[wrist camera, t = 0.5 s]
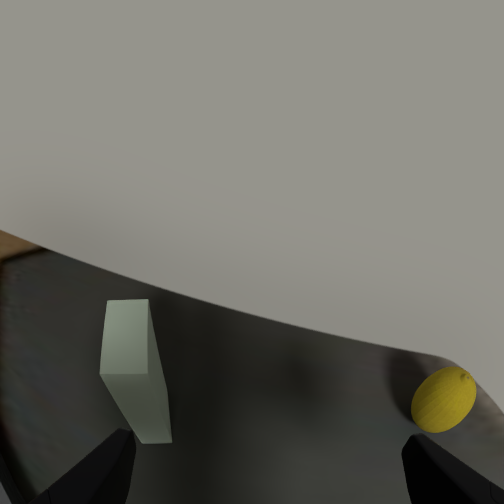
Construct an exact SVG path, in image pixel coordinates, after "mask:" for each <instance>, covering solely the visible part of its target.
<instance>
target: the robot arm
mask: <svg viewBox="0 0 504 504" xmlns="http://www.w3.org/2000/svg"><path fill="white" fill-rule="evenodd" d="M135 454H136V443H135V439H134V434H133V431H132V430H130V429H125V428H118V429H117V430H116V431H115V432H114V433H113V434H111V435H110V436H109V437H108V438H107V439H106V440H104V441H103V442H102V443H101V444H100V445H99V446H98V447H96V448H95V449H94V450H93V451H92V452H91V453H89V454H88V455H87V456H86V457H85V458H83V459H82V460H81V461H80V462H79V463H78V464H76V465H75V466H74V467H73V468H72V469H70V470H69V471H68V472H67V473H66V474H64V475H63V476H62V477H61V478H60V479H58V480H57V481H56V482H55V483H53V484H52V485H51V486H50V487H49V488H48V489H46V490H45V491H43V492H42V493H41V494H40V495H38V496H37V497H36V498H34V499H33V500H32V501H30V502H29V503H27V504H125V502H126V499H127V496H128V492H129V488H130V482H131V476H132V470H133V465H134V459H135ZM402 460H403V466H404V471H405V477H406V483H407V488H408V492H409V496H410V500H411V503H412V504H504V490H503V489H502V488H500V487H498V486H497V485H495V484H494V483H492V482H491V481H490V482H489V480H488V479H486V478H485V477H483V476H482V475H481V474H479V473H478V472H476V471H475V470H473V469H472V468H470V467H469V466H468V465H466V464H465V463H463V462H462V461H460V460H459V459H458V458H456V457H455V456H453V455H452V454H451V453H449V452H448V451H446V450H445V449H444V448H442V447H441V446H439V445H438V444H437V443H435V442H434V441H432V440H431V439H430V438H428V437H427V436H426V435H424V434H422V433H419V434H413V435H411V436H410V438H409V439H408V441H407V442H406V444H405V446H404V447H403V449H402Z"/></svg>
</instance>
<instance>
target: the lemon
mask: <svg viewBox="0 0 504 504" xmlns="http://www.w3.org/2000/svg"><path fill="white" fill-rule="evenodd" d="M475 398H476V385H475V382H474V379H473V377H472V376H471V375H470V373H469V372H467V371H466V370H464V369H462V368H459V367H446V368H443V369H440V370H438V371H437V372H435V373H434V374H432V375H431V376H429V377H428V378H427V379H425V380H424V382H423V383H422V384H421V385H420V386H419V388H418V389H417V391H416V392H415V395H414V397H413V399H412V404H411V414H412V417H413V420H414V422H415V423H416V425H417V426H418V427H419V428H421V429H422V430H424V431H427V432H432V433H438V432H442V431H446V430H448V429H450V428H452V427H454V426H455V425H457V424H458V423H459V422H461V421H462V420H463V418H464V417H465V416H466V415H467V414H468V412H469V411H470V409H471V408H472V406H473V403H474V401H475Z"/></svg>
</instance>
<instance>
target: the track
mask: <svg viewBox="0 0 504 504" xmlns="http://www.w3.org/2000/svg"><path fill="white" fill-rule="evenodd" d="M0 504H26V502H25V500H24V498H23V497H22V495H21V493H20V491H19V489H18V488H17V486H16V484H15V482H14V480H13V478H12V476H11V474H10V472H9V470H8V468H7V466H6V464H5V462H4V459H3V457H2V455H1V453H0Z"/></svg>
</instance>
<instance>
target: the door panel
mask: <svg viewBox="0 0 504 504" xmlns="http://www.w3.org/2000/svg"><path fill="white" fill-rule="evenodd" d="M100 375H101V377H102V379H103V381H104V383H105V385H106V386H107V388H108V390H109V392H110V393H111V395H112V397H113V399H114V400H115V402H116V404H117V405H118V407H119V409H120V410H121V412H122V414H123V415H124V417H125V418H126V420H127V422H128V423H129V425H130V426H131V428H132V429H133V431H134V432H135V434H136V435H137V437H138V438H139V440H140V441H141V443H142V444H158V443H172V435H171V425H170V415H169V404H168V391H167V387H166V383H165V379H164V375H163V371H162V366H161V362H160V357H159V353H158V348H157V343H156V339H155V334H154V329H153V323H152V318H151V313H150V307H149V302H148V299H142V300H113V301H108V302H107V309H106V316H105V324H104V333H103V342H102V352H101V363H100Z"/></svg>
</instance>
